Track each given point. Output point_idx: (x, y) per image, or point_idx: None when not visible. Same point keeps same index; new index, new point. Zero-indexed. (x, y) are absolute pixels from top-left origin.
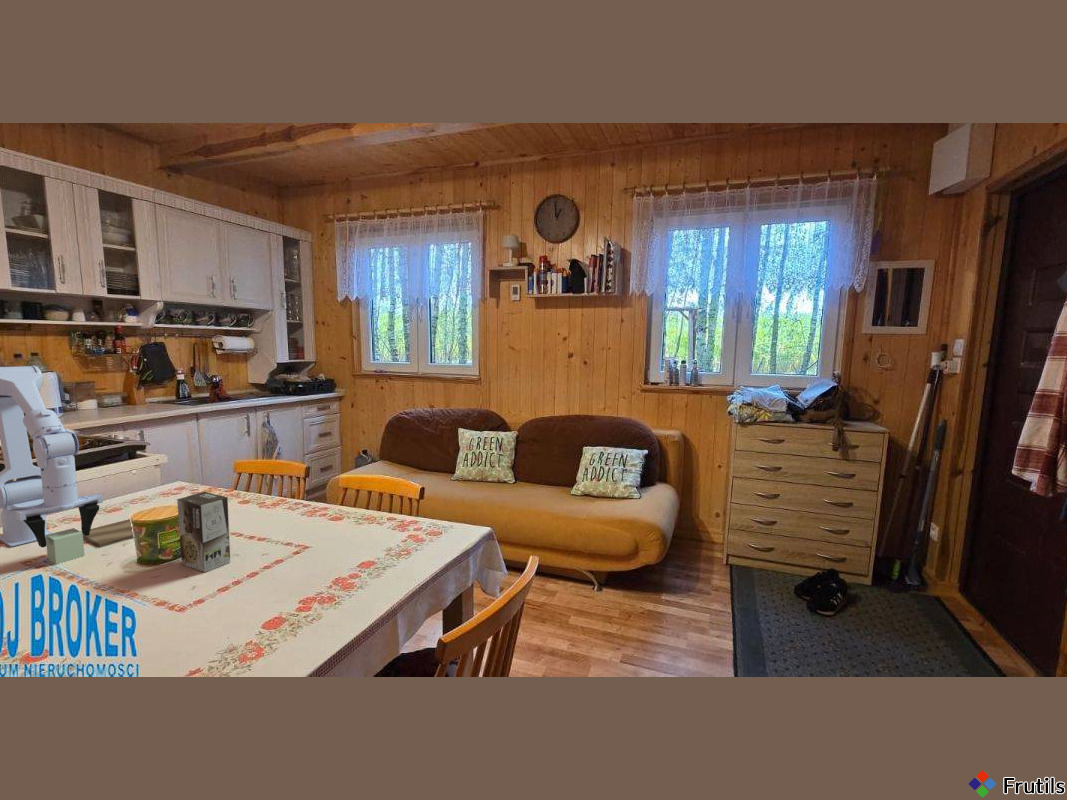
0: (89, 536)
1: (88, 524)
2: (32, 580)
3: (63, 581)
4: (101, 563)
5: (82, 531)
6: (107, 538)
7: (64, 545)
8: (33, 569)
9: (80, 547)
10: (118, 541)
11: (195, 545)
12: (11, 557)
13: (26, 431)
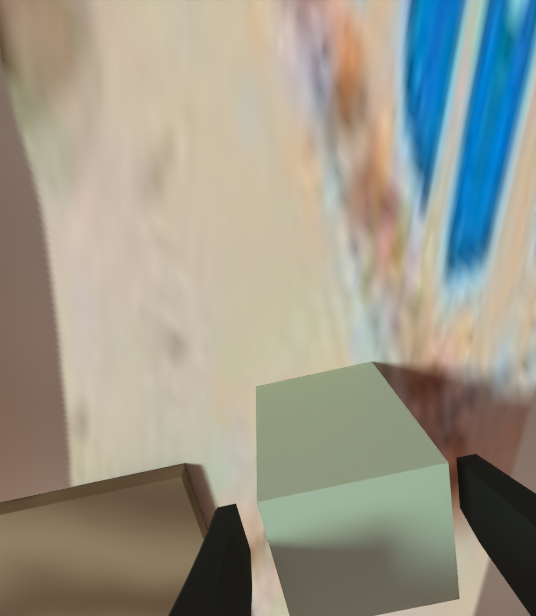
0: None
1: (203, 594)
2: (493, 212)
3: (391, 58)
4: (194, 214)
5: (248, 567)
6: (145, 532)
7: (361, 430)
8: (455, 368)
9: (272, 419)
10: (104, 482)
11: None
12: (479, 561)
13: None
